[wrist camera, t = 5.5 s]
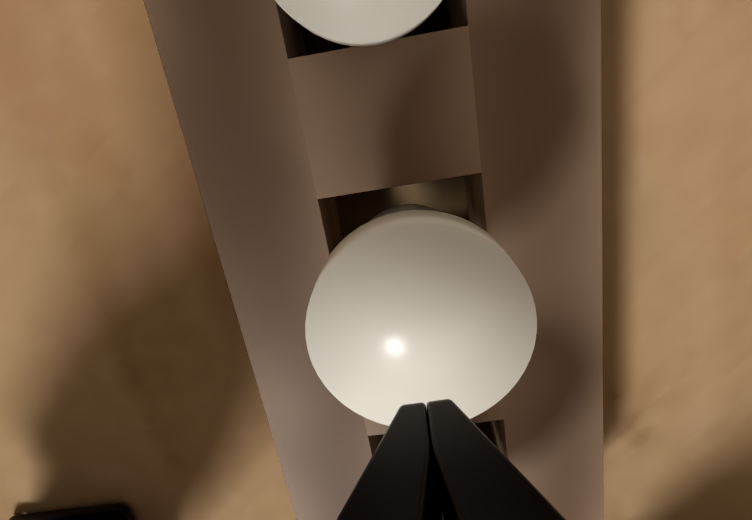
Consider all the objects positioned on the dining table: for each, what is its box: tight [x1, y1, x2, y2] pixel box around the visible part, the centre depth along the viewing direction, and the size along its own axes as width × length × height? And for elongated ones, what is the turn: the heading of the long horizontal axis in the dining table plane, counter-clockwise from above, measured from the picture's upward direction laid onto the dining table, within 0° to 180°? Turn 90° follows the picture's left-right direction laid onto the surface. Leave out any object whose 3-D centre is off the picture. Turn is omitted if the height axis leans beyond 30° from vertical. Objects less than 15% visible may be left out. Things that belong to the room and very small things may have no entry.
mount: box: [143, 0, 604, 520], centre depth 17 cm, size 12×28×4 cm, turn 10°
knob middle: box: [305, 204, 537, 426], centre depth 13 cm, size 5×5×5 cm
